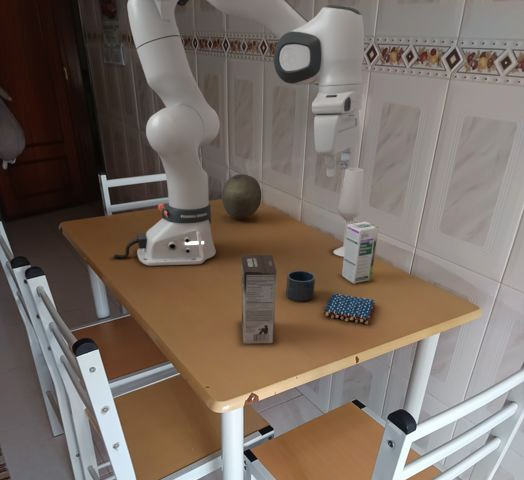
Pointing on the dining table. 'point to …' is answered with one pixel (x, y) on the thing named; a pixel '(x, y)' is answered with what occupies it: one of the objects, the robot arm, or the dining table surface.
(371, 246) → the syrup box
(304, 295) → the cup
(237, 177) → the cantaloupe
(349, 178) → the champagne flute
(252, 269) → the coffee box
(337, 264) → the dining table surface
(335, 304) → the woven mat
